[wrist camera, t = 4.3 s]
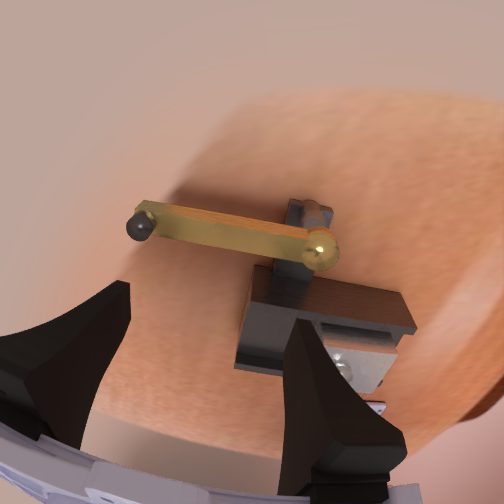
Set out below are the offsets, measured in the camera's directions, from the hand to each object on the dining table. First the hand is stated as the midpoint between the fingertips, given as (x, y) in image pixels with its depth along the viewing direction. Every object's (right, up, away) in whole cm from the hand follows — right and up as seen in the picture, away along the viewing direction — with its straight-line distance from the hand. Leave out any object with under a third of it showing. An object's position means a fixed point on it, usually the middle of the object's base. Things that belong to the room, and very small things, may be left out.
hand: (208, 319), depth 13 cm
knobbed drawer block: (+8, -3, +7) cm, 11 cm away
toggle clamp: (+7, +1, +9) cm, 11 cm away
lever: (+1, +4, +2) cm, 5 cm away
